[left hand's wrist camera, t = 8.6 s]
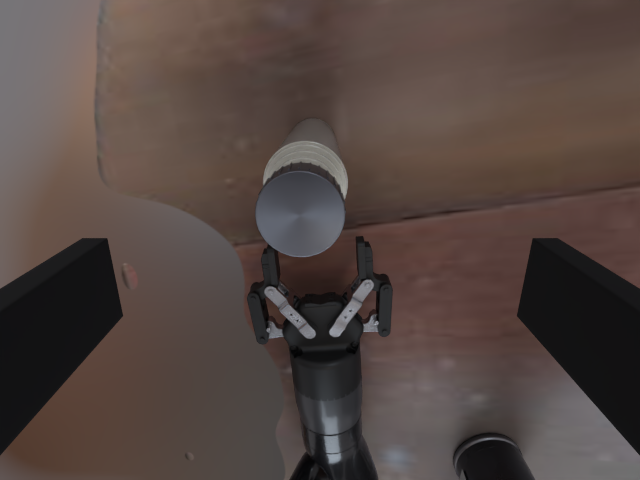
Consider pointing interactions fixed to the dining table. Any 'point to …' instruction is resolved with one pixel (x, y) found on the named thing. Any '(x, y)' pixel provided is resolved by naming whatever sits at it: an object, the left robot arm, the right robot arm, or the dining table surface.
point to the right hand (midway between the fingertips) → (315, 241)
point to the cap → (300, 210)
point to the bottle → (310, 151)
